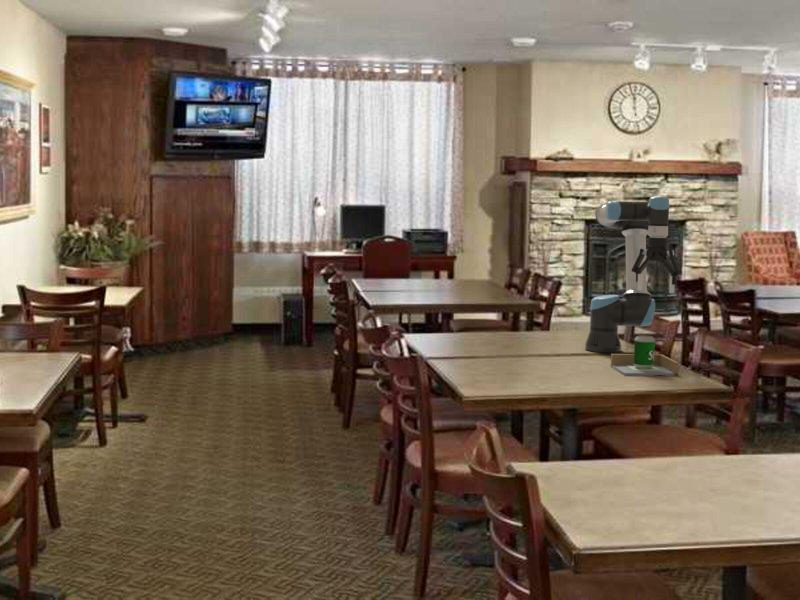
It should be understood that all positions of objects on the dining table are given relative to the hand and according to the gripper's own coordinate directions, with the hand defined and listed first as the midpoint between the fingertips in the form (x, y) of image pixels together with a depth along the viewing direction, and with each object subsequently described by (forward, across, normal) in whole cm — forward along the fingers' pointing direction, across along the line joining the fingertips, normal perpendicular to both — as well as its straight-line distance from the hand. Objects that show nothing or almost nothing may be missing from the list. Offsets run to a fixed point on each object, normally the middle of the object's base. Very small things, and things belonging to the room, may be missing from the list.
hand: (655, 291), depth 413 cm
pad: (+29, +5, -16) cm, 33 cm away
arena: (+29, +5, -16) cm, 33 cm away
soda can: (+28, +5, -16) cm, 33 cm away
